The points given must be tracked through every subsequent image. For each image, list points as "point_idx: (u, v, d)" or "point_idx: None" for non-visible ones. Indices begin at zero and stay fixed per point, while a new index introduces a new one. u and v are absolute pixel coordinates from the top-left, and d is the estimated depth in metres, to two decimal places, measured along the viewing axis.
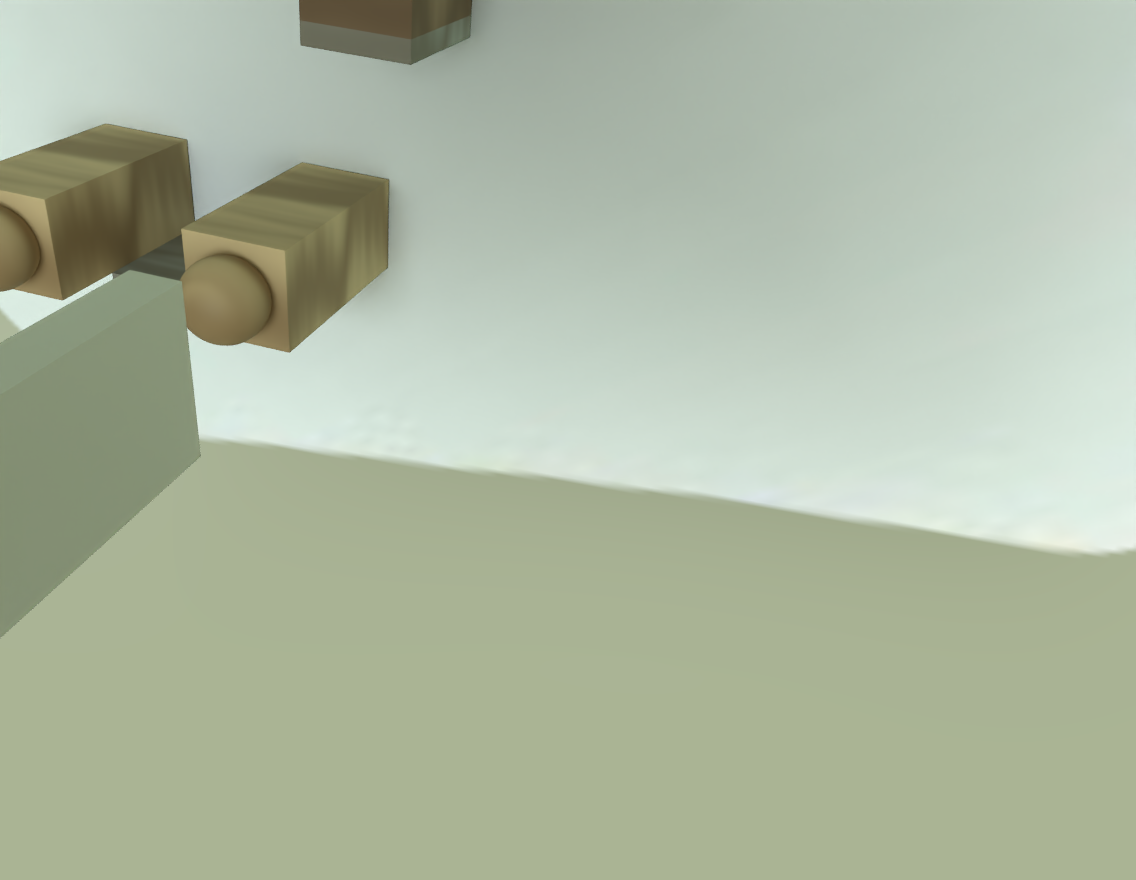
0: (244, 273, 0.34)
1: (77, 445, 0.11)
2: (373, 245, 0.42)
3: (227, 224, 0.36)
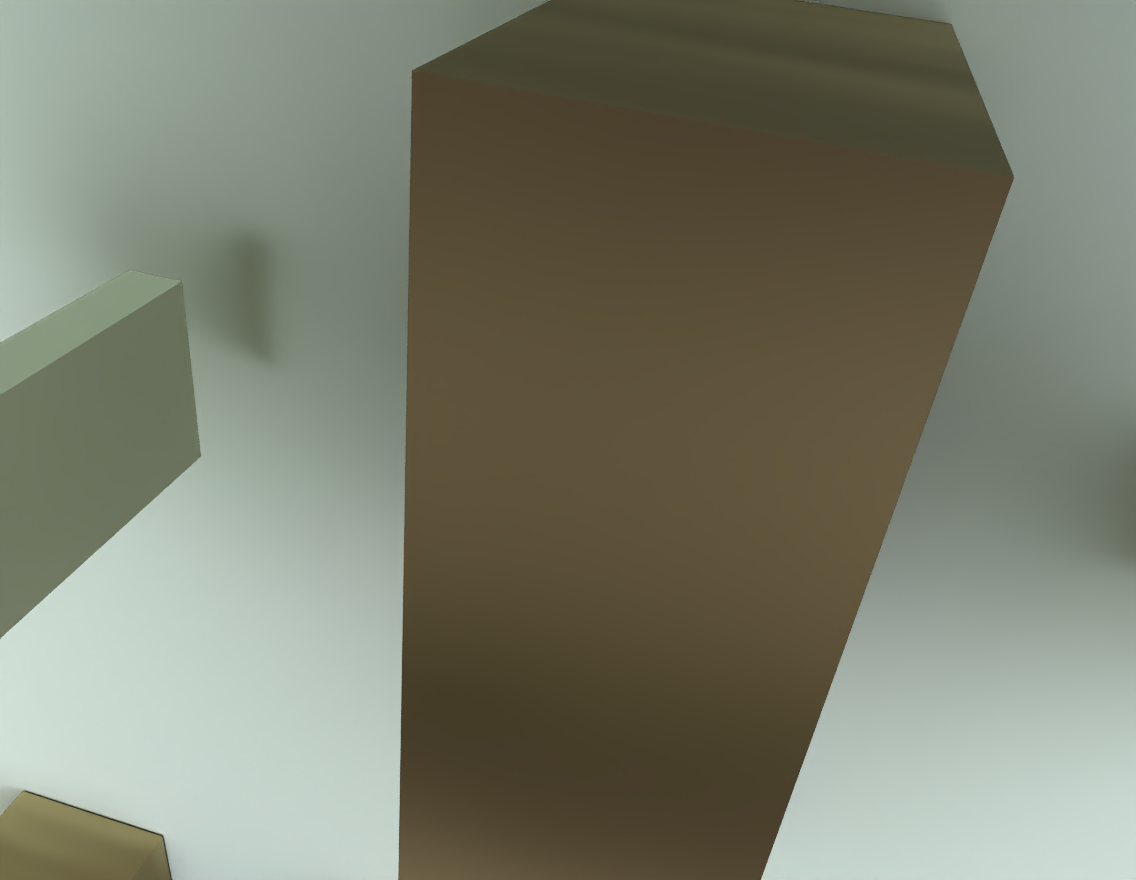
0: None
1: (77, 445, 0.11)
2: None
3: None
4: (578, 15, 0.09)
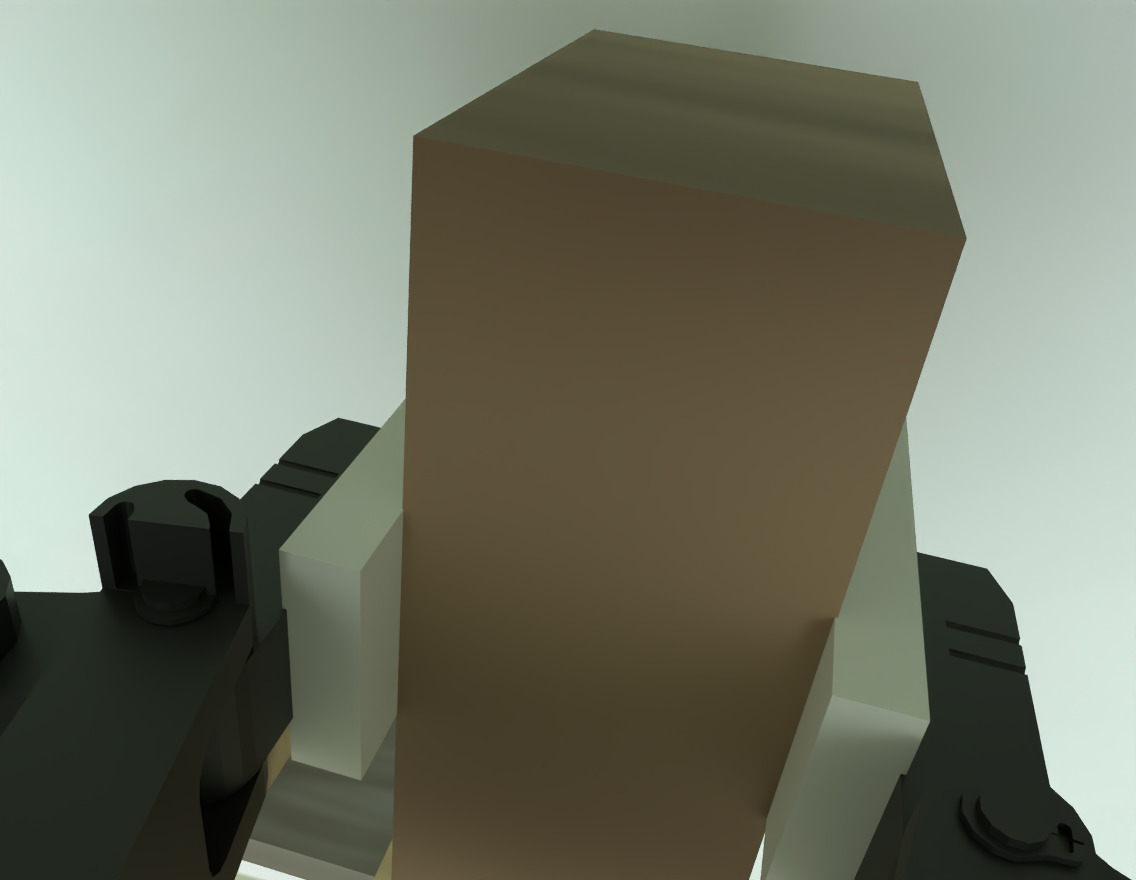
0: None
1: None
2: None
3: None
4: (567, 76, 0.10)
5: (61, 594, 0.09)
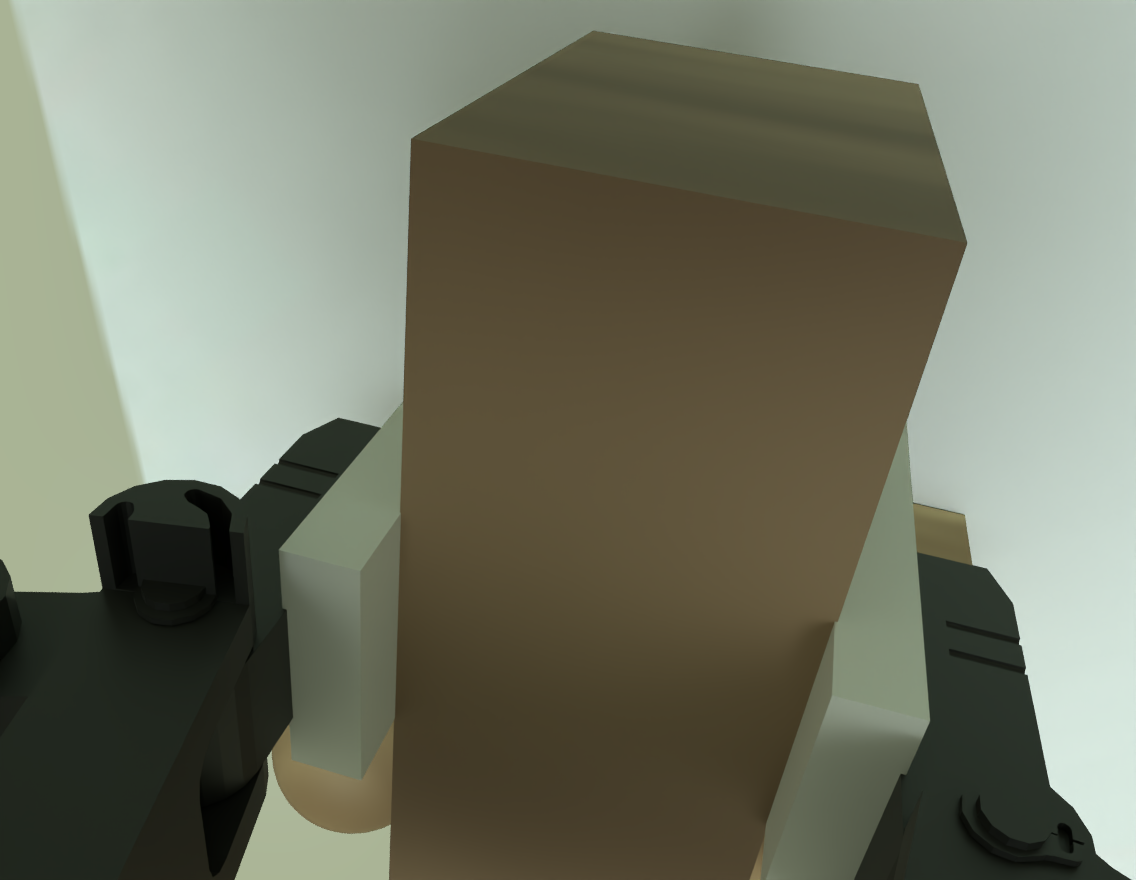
0: None
1: None
2: None
3: None
4: (565, 78, 0.10)
5: (61, 594, 0.09)
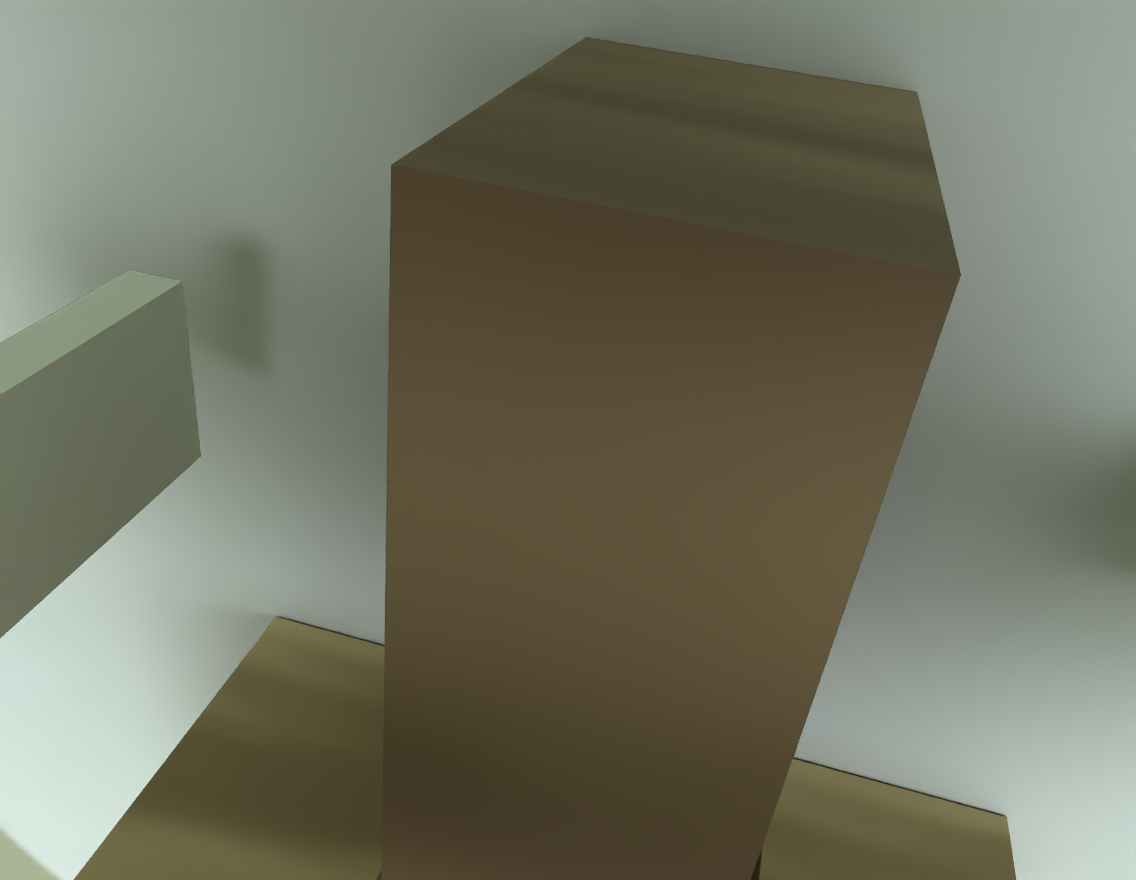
0: None
1: (77, 445, 0.11)
2: None
3: None
4: (555, 92, 0.09)
5: None
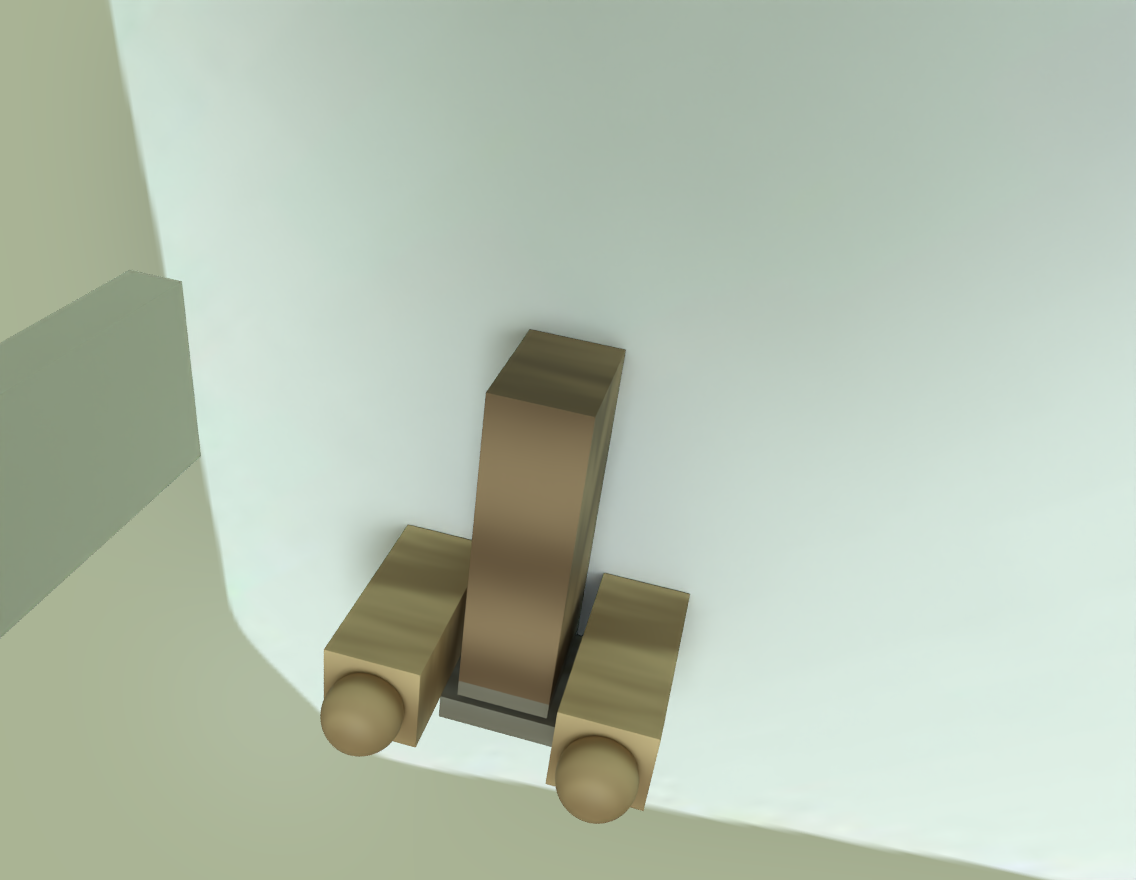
0: (625, 764, 0.36)
1: (77, 445, 0.11)
2: None
3: (591, 697, 0.38)
4: (519, 361, 0.37)
5: None
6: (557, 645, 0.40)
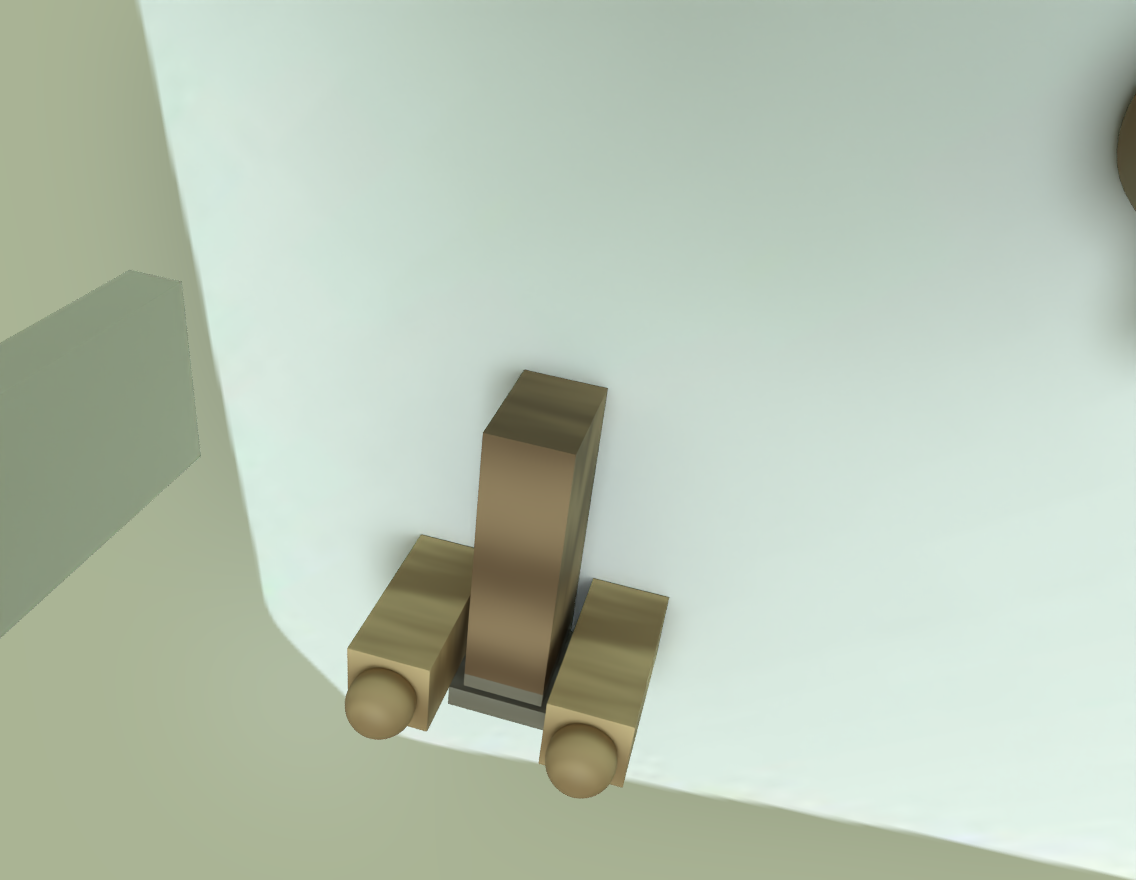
0: (604, 748, 0.42)
1: (77, 445, 0.11)
2: (656, 652, 0.50)
3: (577, 690, 0.44)
4: (513, 402, 0.43)
5: None
6: (548, 644, 0.46)
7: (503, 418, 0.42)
